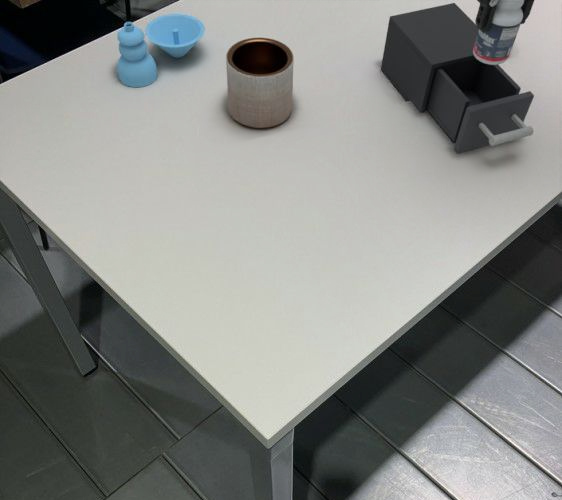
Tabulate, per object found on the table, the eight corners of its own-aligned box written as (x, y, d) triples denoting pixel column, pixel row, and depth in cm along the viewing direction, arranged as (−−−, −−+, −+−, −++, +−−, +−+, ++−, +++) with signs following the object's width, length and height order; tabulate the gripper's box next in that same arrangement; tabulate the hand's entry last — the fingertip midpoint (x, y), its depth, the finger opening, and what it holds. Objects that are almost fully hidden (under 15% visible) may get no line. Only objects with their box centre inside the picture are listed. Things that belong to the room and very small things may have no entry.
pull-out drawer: (533, 156, 100) (552, 113, 93) (472, 173, 97) (487, 130, 91) (474, 90, 108) (488, 47, 102) (417, 104, 106) (427, 61, 99)
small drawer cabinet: (482, 102, 108) (500, 48, 100) (419, 117, 106) (432, 64, 97) (441, 55, 115) (454, 2, 107) (380, 69, 113) (389, 16, 104)
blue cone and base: (180, 30, 117) (174, -20, 110) (218, 54, 114) (215, 3, 106) (104, 70, 110) (92, 19, 103) (142, 97, 107) (133, 46, 99)
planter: (218, 99, 107) (215, 45, 99) (276, 84, 110) (277, 30, 101) (242, 137, 102) (241, 83, 94) (302, 121, 104) (305, 67, 96)
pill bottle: (465, 48, 91) (483, -15, 84) (495, 41, 92) (516, -22, 85) (484, 69, 89) (504, 5, 81) (515, 61, 90) (538, -2, 82)
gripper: (512, -97, 69) (470, 50, 84) (616, -116, 72) (558, 29, 87) (477, -124, 73) (442, 21, 87) (577, -141, 76) (527, 2, 90)
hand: (500, 24), depth 87 cm, fingers closed on pill bottle, 5 cm apart
